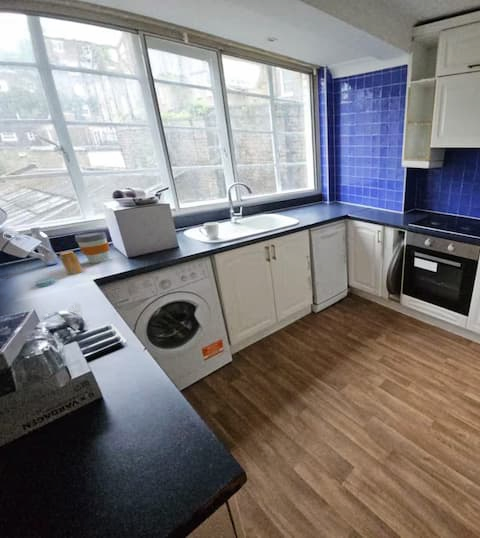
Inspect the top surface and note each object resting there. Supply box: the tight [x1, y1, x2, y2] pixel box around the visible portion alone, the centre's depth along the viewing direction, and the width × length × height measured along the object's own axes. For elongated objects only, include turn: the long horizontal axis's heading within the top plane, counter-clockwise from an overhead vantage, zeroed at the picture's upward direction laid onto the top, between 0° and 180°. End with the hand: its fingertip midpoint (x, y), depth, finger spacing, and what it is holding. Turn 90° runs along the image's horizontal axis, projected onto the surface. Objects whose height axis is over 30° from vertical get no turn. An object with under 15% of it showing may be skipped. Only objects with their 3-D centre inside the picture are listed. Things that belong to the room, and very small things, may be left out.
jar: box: [59, 250, 84, 276], centre depth 145 cm, size 6×6×10 cm
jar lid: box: [34, 277, 56, 288], centre depth 134 cm, size 6×6×2 cm
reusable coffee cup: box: [74, 230, 111, 264], centre depth 159 cm, size 12×13×15 cm
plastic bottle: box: [29, 226, 60, 266], centre depth 154 cm, size 6×7×20 cm
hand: (46, 254), depth 138 cm, fingers open, 8 cm apart
